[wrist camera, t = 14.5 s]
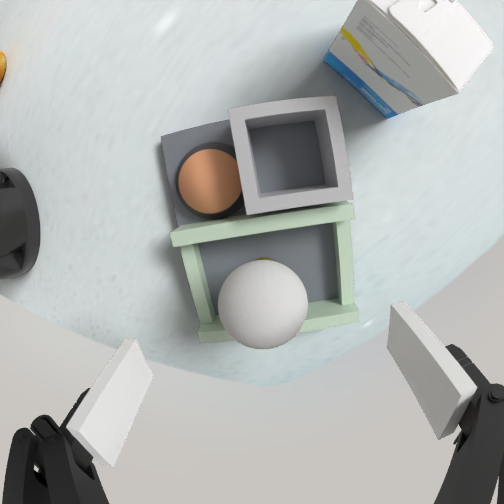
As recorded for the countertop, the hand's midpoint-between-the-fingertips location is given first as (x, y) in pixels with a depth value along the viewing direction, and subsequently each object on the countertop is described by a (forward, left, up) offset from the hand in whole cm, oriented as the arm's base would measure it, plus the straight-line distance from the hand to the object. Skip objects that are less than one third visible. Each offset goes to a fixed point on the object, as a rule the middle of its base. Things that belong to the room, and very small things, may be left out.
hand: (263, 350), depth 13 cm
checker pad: (-3, +8, -12) cm, 15 cm away
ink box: (+14, +18, -14) cm, 27 cm away
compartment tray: (0, +4, -14) cm, 14 cm away
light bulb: (0, 0, -13) cm, 13 cm away
